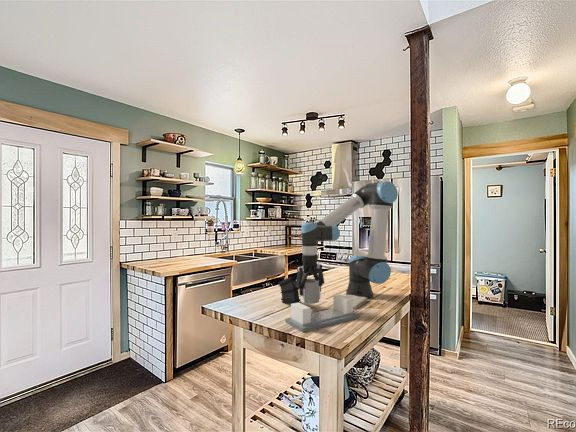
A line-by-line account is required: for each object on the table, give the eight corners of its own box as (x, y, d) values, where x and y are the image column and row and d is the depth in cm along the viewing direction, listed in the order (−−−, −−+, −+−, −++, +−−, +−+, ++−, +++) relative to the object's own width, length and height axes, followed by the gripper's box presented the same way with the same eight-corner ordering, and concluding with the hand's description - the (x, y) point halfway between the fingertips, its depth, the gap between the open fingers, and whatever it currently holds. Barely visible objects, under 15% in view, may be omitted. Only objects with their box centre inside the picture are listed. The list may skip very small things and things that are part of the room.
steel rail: (339, 308, 144) (339, 307, 144) (353, 313, 137) (353, 312, 137) (290, 319, 130) (290, 317, 130) (302, 326, 122) (302, 324, 122)
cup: (322, 300, 147) (322, 280, 147) (312, 304, 141) (311, 283, 141) (309, 297, 153) (308, 278, 153) (298, 301, 147) (298, 281, 147)
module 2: (339, 307, 144) (339, 294, 144) (353, 312, 137) (353, 299, 137) (333, 308, 142) (333, 295, 142) (346, 313, 135) (346, 300, 135)
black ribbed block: (298, 305, 148) (290, 276, 153) (283, 311, 157) (276, 283, 162) (304, 304, 151) (295, 275, 156) (289, 309, 160) (281, 282, 165)
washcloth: (368, 301, 162) (368, 296, 162) (356, 310, 147) (356, 304, 147) (347, 298, 169) (347, 292, 169) (334, 306, 154) (334, 300, 154)
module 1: (298, 316, 132) (298, 302, 132) (310, 322, 124) (310, 307, 124) (290, 317, 130) (290, 303, 130) (302, 324, 122) (302, 309, 122)
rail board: (339, 310, 147) (339, 307, 147) (358, 317, 136) (358, 314, 136) (285, 322, 131) (285, 318, 130) (302, 332, 119) (302, 328, 119)
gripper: (321, 251, 155) (322, 294, 156) (287, 255, 144) (288, 302, 144) (331, 252, 149) (332, 298, 149) (295, 257, 138) (296, 306, 138)
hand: (310, 300), depth 147 cm, fingers closed on cup, 8 cm apart
